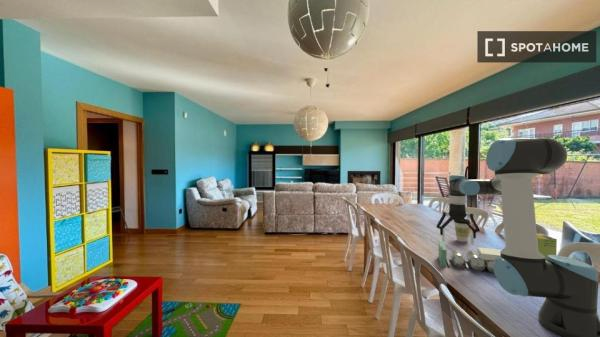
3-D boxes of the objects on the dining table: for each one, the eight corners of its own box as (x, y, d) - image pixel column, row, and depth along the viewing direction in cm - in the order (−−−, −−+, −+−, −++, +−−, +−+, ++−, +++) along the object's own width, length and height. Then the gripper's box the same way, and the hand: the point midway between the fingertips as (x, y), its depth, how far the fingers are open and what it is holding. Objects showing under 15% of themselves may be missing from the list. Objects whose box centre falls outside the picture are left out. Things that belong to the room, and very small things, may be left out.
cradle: (468, 270, 129) (468, 267, 129) (448, 267, 133) (448, 264, 133) (463, 260, 142) (463, 257, 142) (445, 257, 145) (445, 255, 145)
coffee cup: (450, 239, 180) (450, 218, 180) (460, 238, 183) (461, 217, 183) (463, 243, 171) (463, 221, 170) (473, 242, 174) (474, 220, 173)
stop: (446, 266, 133) (446, 250, 133) (441, 266, 134) (441, 249, 134) (443, 257, 146) (443, 242, 146) (438, 257, 147) (438, 241, 147)
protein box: (556, 268, 130) (557, 239, 130) (522, 266, 134) (523, 237, 133) (541, 261, 141) (542, 233, 140) (510, 258, 144) (510, 232, 143)
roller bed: (523, 278, 120) (523, 265, 120) (470, 270, 129) (471, 258, 128) (512, 267, 133) (512, 255, 133) (465, 260, 141) (465, 250, 141)
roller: (465, 269, 131) (466, 258, 131) (453, 267, 133) (453, 256, 133) (462, 260, 142) (462, 250, 141) (450, 259, 144) (450, 249, 144)
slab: (521, 264, 122) (521, 258, 122) (481, 259, 128) (482, 253, 128) (514, 257, 131) (514, 251, 131) (477, 252, 137) (477, 247, 137)
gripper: (483, 203, 135) (483, 243, 135) (431, 201, 145) (431, 238, 145) (486, 205, 128) (487, 247, 128) (432, 203, 138) (432, 241, 138)
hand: (457, 242), depth 136 cm, fingers open, 13 cm apart
